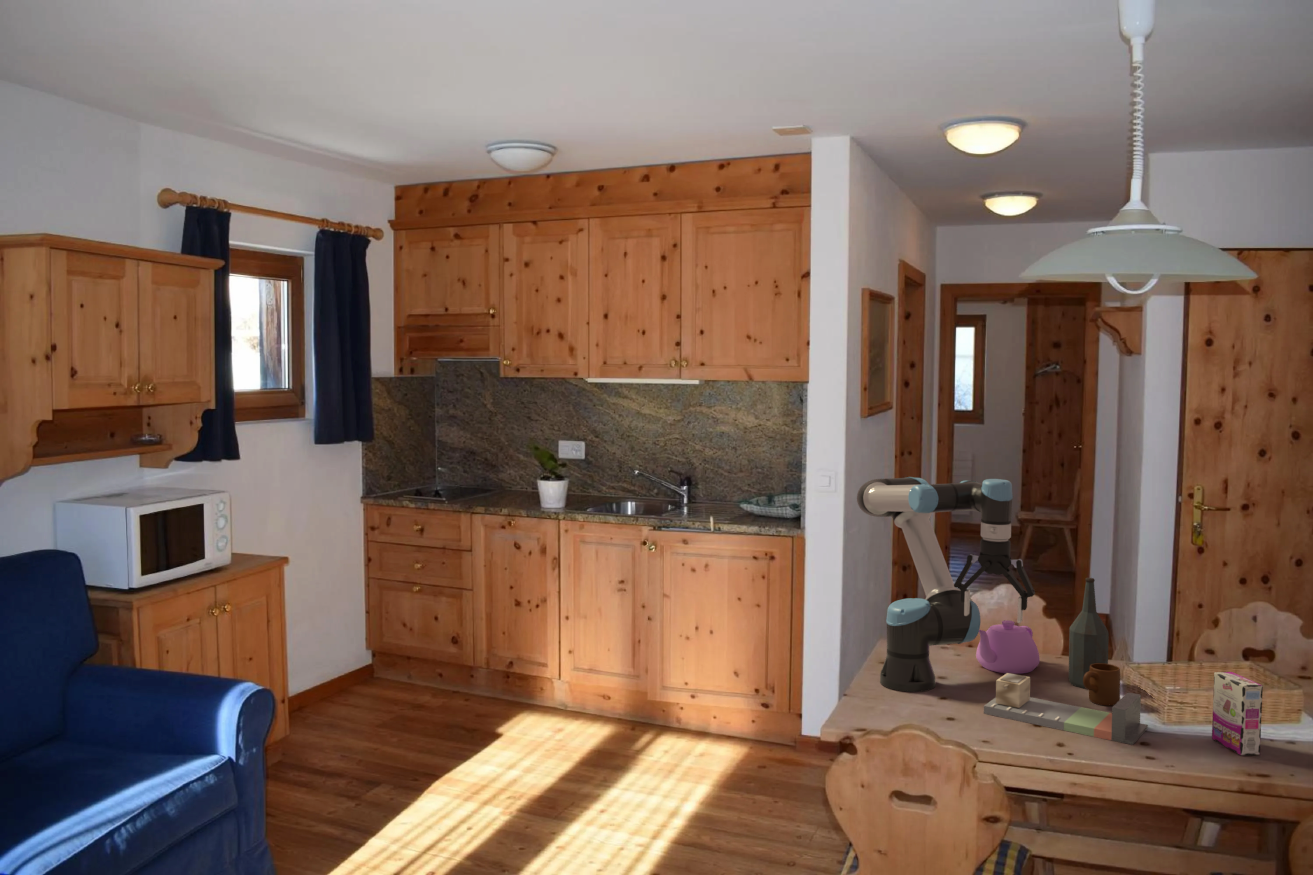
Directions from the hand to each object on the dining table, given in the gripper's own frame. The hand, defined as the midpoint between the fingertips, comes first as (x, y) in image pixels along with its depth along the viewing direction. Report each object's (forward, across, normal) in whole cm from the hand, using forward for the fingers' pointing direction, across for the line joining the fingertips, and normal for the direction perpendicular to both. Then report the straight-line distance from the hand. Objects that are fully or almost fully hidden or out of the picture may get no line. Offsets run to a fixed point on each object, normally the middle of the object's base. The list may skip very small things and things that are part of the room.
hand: (992, 618), depth 270 cm
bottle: (+23, +20, +29) cm, 42 cm away
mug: (+23, +25, +13) cm, 36 cm away
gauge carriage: (+20, +6, -5) cm, 22 cm away
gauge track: (+22, +17, -5) cm, 28 cm away
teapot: (+24, -3, +34) cm, 41 cm away
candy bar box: (+22, +57, -5) cm, 61 cm away
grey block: (+22, +34, -8) cm, 41 cm away
